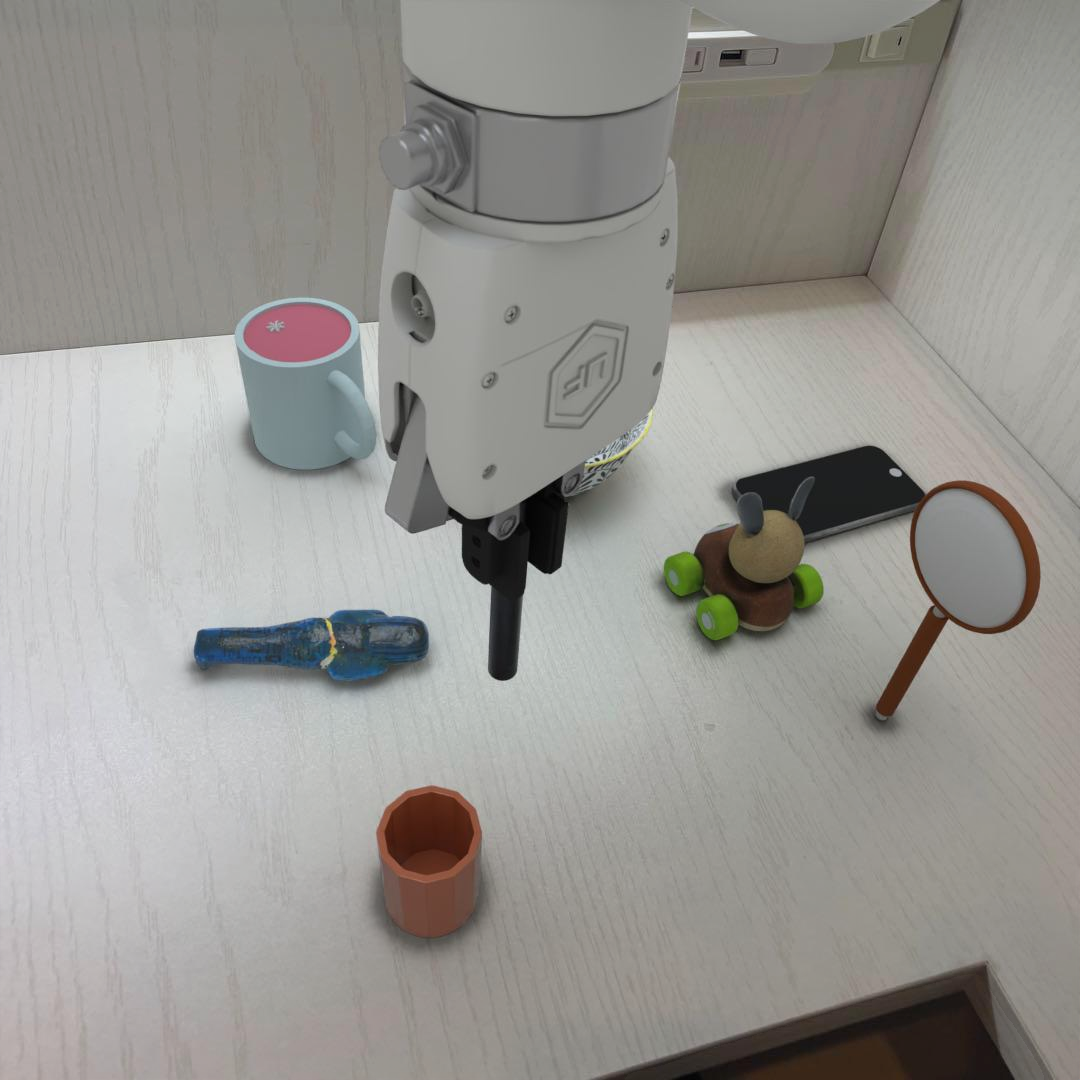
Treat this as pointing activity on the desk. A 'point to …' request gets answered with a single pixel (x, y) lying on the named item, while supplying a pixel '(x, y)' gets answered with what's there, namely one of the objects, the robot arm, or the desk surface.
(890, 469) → the smartphone
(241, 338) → the mug
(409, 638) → the figurine
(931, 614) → the magnifying glass
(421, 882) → the pen pot
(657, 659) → the desk surface
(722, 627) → the toy car
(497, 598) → the stylus
